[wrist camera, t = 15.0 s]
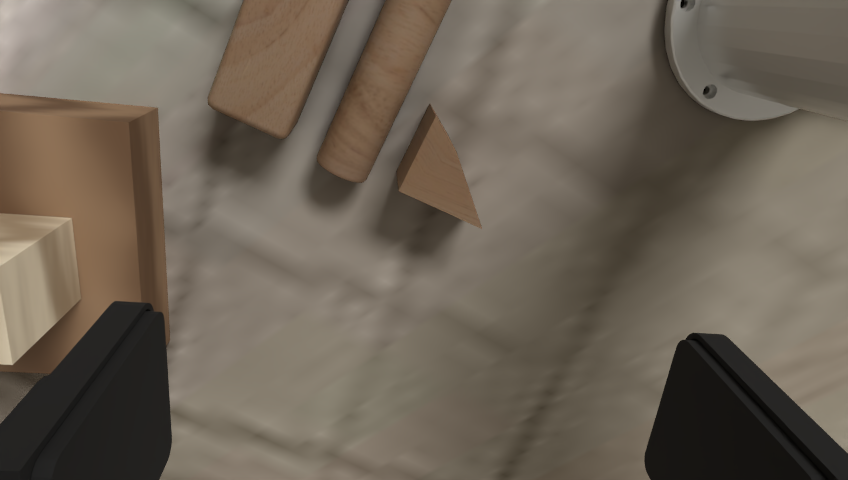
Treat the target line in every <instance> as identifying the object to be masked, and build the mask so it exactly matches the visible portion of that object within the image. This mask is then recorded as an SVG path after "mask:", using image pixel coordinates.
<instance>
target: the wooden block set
mask: <svg viewBox="0 0 848 480" xmlns="http://www.w3.org/2000/svg"><path fill="white" fill-rule="evenodd" d="M348 1H349V0H244V1H243V3H242V6H241V9H240V11H239V14H238V17H237V20H236V22H235V25H234V28H233V30H232V33H231V36H230V39H229V41H228V44H227V47H226V49H225V52H224V55H223V58H222V60H221V63H220V66H219V68H218V71H217V74H216V77H215V79H214V82H213V85H212V87H211V90H210V93H209V96H208V105H209V106H210V107H211V108H212V109H214V110H216V111H218V112H220V113H223V114H225V115H227V116H229V117H232V118H234V119H236V120H238V121H240V122H243V123H245V124H247V125H249V126H251V127H254V128H256V129H258V130H260V131H262V132H265V133H267V134H269V135H271V136H274V137H276V138H278V139H285V138H286V137H287V136H288V135H289V134H290V132H291V131H292V129H293V128H294V126H295V125H296V123H297V122H298V119H299V117H300V115H301V112H302V110H303V107H304V105H305V103H306V100H307V98H308V96H309V93H310V91H311V89H312V86H313V84H314V81H315V79H316V77H317V74H318V72H319V70H320V67H321V65H322V63H323V60H324V58H325V55H326V53H327V51H328V48H329V46H330V44H331V41H332V39H333V36H334V34H335V32H336V29H337V27H338V25H339V22H340V20H341V18H342V15H343V13H344V10H345V8H346V6H347V3H348ZM451 1H452V0H386V1H385V3H384V5H383V8H382V10H381V12H380V14H379V17H378V19H377V21H376V23H375V26H374V28H373V30H372V32H371V35H370V37H369V39H368V42H367V44H366V46H365V48H364V51H363V53H362V55H361V57H360V60H359V62H358V64H357V66H356V69H355V71H354V73H353V75H352V78H351V80H350V82H349V85H348V87H347V89H346V91H345V94H344V96H343V98H342V100H341V103H340V105H339V107H338V109H337V112H336V114H335V116H334V119H333V121H332V123H331V125H330V128H329V130H328V132H327V134H326V137H325V139H324V141H323V143H322V146H321V148H320V150H319V152H318V155H317V162H318V163H319V164H320V165H321V166H322V167H323V168H324V169H326V170H327V171H329V172H330V173H332V174H334V175H336V176H338V177H340V178H342V179H345V180H348V181H352V182H358V183H362V182H364V181H365V180H366V179H367V177H368V175H369V173H370V171H371V169H372V167H373V165H374V162H375V160H376V158H377V156H378V154H379V152H380V150H381V148H382V146H383V143H384V141H385V139H386V137H387V135H388V133H389V131H390V129H391V127H392V125H393V122H394V120H395V118H396V116H397V114H398V112H399V110H400V108H401V106H402V104H403V101H404V99H405V97H406V95H407V93H408V91H409V89H410V87H411V85H412V83H413V80H414V78H415V76H416V74H417V72H418V70H419V68H420V66H421V64H422V61H423V59H424V57H425V55H426V53H427V51H428V49H429V47H430V45H431V43H432V40H433V38H434V36H435V34H436V32H437V30H438V28H439V26H440V24H441V22H442V19H443V17H444V15H445V13H446V11H447V9H448V7H449V5H450V3H451ZM397 180H398V190H399V192H402V193H404V194H406V195H408V196H411V197H413V198H415V199H417V200H419V201H422V202H424V203H426V204H428V205H430V206H433V207H435V208H437V209H439V210H441V211H444V212H446V213H448V214H450V215H452V216H455V217H457V218H459V219H461V220H463V221H466V222H468V223H470V224H472V225H474V226H477V227H479V228H481V229H482V227H481V224H480V221H479V218H478V215H477V212H476V209H475V206H474V203H473V200H472V197H471V194H470V191H469V188H468V185H467V182H466V179H465V176H464V173H463V170H462V167H461V164H460V161H459V158H458V155H457V152H456V150H455V148H454V146H453V144H452V142H451V140H450V138H449V136H448V134H447V132H446V131H445V129H444V127H443V125H442V124H441V122H440V120H439V118H438V117H437V115H436V113H435V111H434V110H433V108H432V106H431V105H430V104H429V106H428V108H427V110H426V112H425V114H424V116H423V119H422V121H421V123H420V125H419V127H418V129H417V131H416V133H415V135H414V137H413V139H412V141H411V143H410V145H409V147H408V149H407V151H406V153H405V155H404V157H403V159H402V161H401V163H400V165H399V167H398V169H397Z"/></svg>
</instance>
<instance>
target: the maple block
mask: <svg viewBox="0 0 848 480" xmlns="http://www.w3.org/2000/svg"><path fill="white" fill-rule="evenodd" d="M79 300H81V294H80V285H79V277H78V268H77V259H76V251H75V242H74V233H73V225H72V218H64V217H49V216H34V215H19V214H4V213H0V364H3V365H13V364H14V363H15V362H16V361H17V360H18V359H19V358H20V357H21V356H22V355H23V354H25V353H26V352H27V351H28V350H29V349H30V348H31V347H32V346H33V345H34V344H35V343H36V342H37V341H38V340H39V339H40V338H41V337H42V336H43V335H44V334H45V333H46V332H47V331H48V330H49V329H50V328H51V327H53V326H54V325H55V324H56V323H57V322H58V321H59V320H60V319H61V318H62V317H63V316H64V315H65V314H66V313H67V312H68V311H69V310H70V309H71V308H72V307H73V306H74V305H75V304H76V303H77V302H78V301H79Z"/></svg>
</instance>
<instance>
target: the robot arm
mask: <svg viewBox="0 0 848 480" xmlns="http://www.w3.org/2000/svg"><path fill="white" fill-rule="evenodd" d="M680 2H681V0H668V4H667V7H666V17H665V27H664V32H665V45H666V52H667V55H668V59H669V63H670V66H671V69H672V71H673V73H674V75H675V77H676V79H677V81H678V82H679V84H680V85H681V87H682V88H683V89H684V90H685V91H686V93H687V94H688V95H689V96H690V97H691V98H692V99H693V100H695V101H696V102H697V103H699V104H700V105H701V106H702V107H704V108H706V109H708V110H710V111H712V112H715V113H717V114H719V115H722V116H726V117H729V118H733V119H738V120H748V121H757V120H767V119H773V118H777V117H780V116H783V115H787V114H790V113H792V112H794V111H796V110H798V109H803V110H806V111H810V112H814V113H818V114H822V115H826V116H829V117H833V118H837V119H841V120H845V121H848V0H684V5H683V7H680ZM705 87H706V91H705V92H704V93H703V90H704V88H705ZM171 443H172V433H171V417H170V401H169V384H168V368H167V351H166V335H165V320H164V315H163V313H162V312H155V311H154V309H153V306H152V305H151V304H150V303H143V302H125V301H114V302H113V303H111V305H110V306H109V307H108V308H107V309H106V310H105V311H104V313H103V314H102V315H101V316H100V317H99V318H98V320H97V321H96V322H95V323H94V324H93V325H92V326H91V328H90V329H89V330H88V331H87V332H86V333H85V335H84V336H83V337H82V338H81V339H80V340H79V341H78V343H77V344H76V345H75V346H74V347H73V348H72V350H71V351H70V352H69V353H68V354H67V355H66V356H65V358H64V359H63V360H62V361H61V362H60V363H59V365H58V366H57V367H56V368H55V369H54V370H53V371H52V373H51V374H50V375H48V376H44V377H43V378H42V379H41V380H39V381H38V382H37V383H36V384H35V386H34V387H33V388H32V389H31V390H30V391H29V392H28V393H27V395H26V396H25V397H24V398H23V399H22V400H21V401H20V403H19V404H18V405H17V406H16V407H15V408H14V409H13V410H12V412H11V413H10V414H9V415H8V416H7V417H6V418H5V420H4V421H3V422H2V423H1V424H0V480H159V479H160V476H161V474H162V472H163V470H164V468H165V465H166V463H167V461H168V458H169V455H170V450H171ZM645 468H646V471H647V474H648V476H649V478H650V479H651V480H848V453H847V452H846V451H844V450H843V449H842V448H841V447H840V446H839V445H838V444H837V443H836V442H835V441H834V440H833V439H832V438H831V437H830V436H829V435H828V434H827V433H826V432H825V431H824V430H823V429H822V428H821V427H820V426H819V425H818V424H817V423H816V422H815V421H813V420H812V419H811V418H810V417H809V416H808V415H807V414H806V413H805V412H804V411H803V410H802V409H801V408H800V407H799V406H798V405H797V404H796V403H795V402H794V401H793V400H792V399H791V398H790V397H789V396H788V395H787V394H786V393H785V392H784V391H782V390H781V389H780V388H779V387H778V386H777V385H776V384H775V383H774V382H773V381H772V380H771V379H770V378H769V377H768V376H767V375H766V374H765V373H764V372H763V371H762V370H761V369H760V368H759V367H758V366H757V365H756V364H755V363H754V362H753V361H751V360H750V359H749V358H748V357H747V356H746V355H745V354H744V353H743V352H742V351H741V350H740V349H739V348H738V347H737V346H736V345H735V344H734V343H733V342H732V341H731V340H730V339H729V338H728V337H726V336H725V335H721V334H704V333H692V334H690V335H689V336H688V337H687V338H686V340H682V341H680V342H679V343H678V345H677V347H676V351H675V354H674V357H673V361H672V364H671V368H670V371H669V374H668V378H667V381H666V384H665V388H664V391H663V395H662V398H661V401H660V405H659V408H658V412H657V415H656V418H655V422H654V425H653V429H652V432H651V435H650V439H649V442H648V445H647V449H646V452H645Z"/></svg>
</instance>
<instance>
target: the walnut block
mask: <svg viewBox="0 0 848 480" xmlns="http://www.w3.org/2000/svg"><path fill="white" fill-rule="evenodd" d="M0 213H4V214H19V215H34V216H49V217H64V218H72V225H73V233H74V242H75V251H76V259H77V268H78V277H79V285H80V294H81V300H79V301H78V302H77V303H76V304H75V305H74V306H73V307H72V308H71V309H70V310H69V311H68V312H67V313H66V314H65V315H64V316H63V317H62V318H61V319H60V320H59V321H58V322H57V323H56V324H55V325H54V326H53V327H51V328H50V329H49V330H48V331H47V332H46V333H45V334H44V335H43V336H42V337H41V338H40V339H39V340H38V341H37V342H36V343H35V344H34V345H33V346H32V347H31V348H30V349H29V350H28V351H27V352H26V353H25V354H23V355H22V356H21V357H20V358H19V359H18V360H17V361H16V362H15V363H14V364H13V365H3V364H0V371H3V372H25V373H46V374H51V373H52V371H53V370H54V369H55V368H56V367H57V366H58V365H59V363H60V362H61V361H62V360H63V359H64V358H65V356H66V355H67V354H68V353H69V352H70V351H71V350H72V348H73V347H74V346H75V345H76V344H77V343H78V341H79V340H80V339H81V338H82V337H83V336H84V335H85V333H86V332H87V331H88V330H89V329H90V328H91V326H92V325H93V324H94V323H95V322H96V321H97V320H98V318H99V317H100V316H101V315H102V314H103V313H104V311H105V310H106V309H107V308H108V307H109V306H110V305H111V303H113V302H114V301H125V302H143V303H150V304H151V305H152V306H153V309H154V311H155V312H162V313H163V315H164V320H165V335H166V346H167V344H168V342H169V341H170V330H169V311H168V292H167V273H166V254H165V236H164V217H163V198H162V179H161V160H160V141H159V122H158V108H154V107H143V106H132V105H122V104H111V103H100V102H89V101H78V100H67V99H57V98H46V97H35V96H24V95H13V94H2V93H0Z"/></svg>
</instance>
